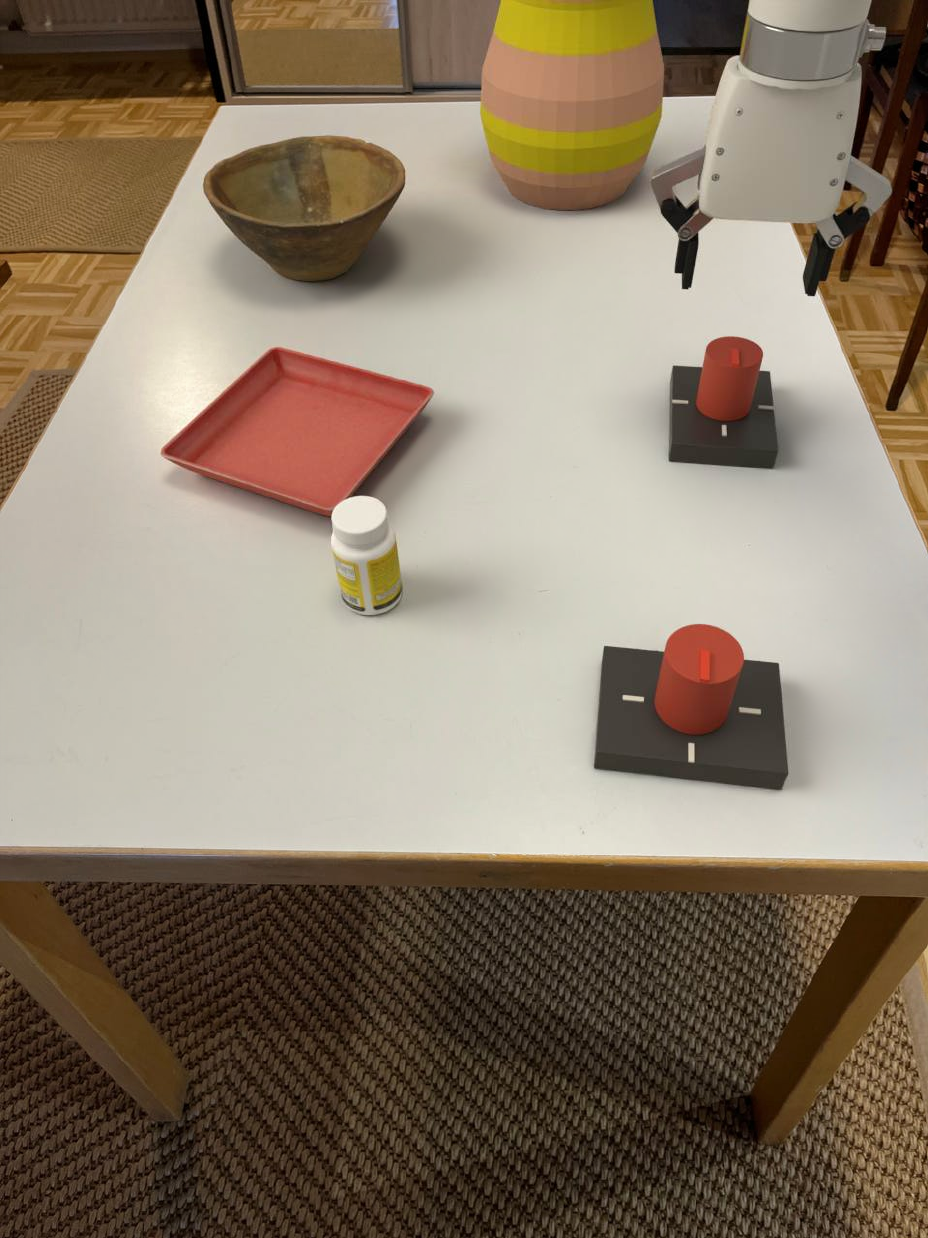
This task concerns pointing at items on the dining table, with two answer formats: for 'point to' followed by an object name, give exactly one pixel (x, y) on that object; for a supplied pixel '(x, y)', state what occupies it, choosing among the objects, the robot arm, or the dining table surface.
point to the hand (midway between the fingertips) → (746, 284)
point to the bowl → (306, 201)
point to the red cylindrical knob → (729, 378)
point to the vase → (571, 98)
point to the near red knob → (698, 678)
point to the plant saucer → (299, 429)
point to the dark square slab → (720, 426)
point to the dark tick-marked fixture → (725, 755)
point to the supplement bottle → (365, 556)
